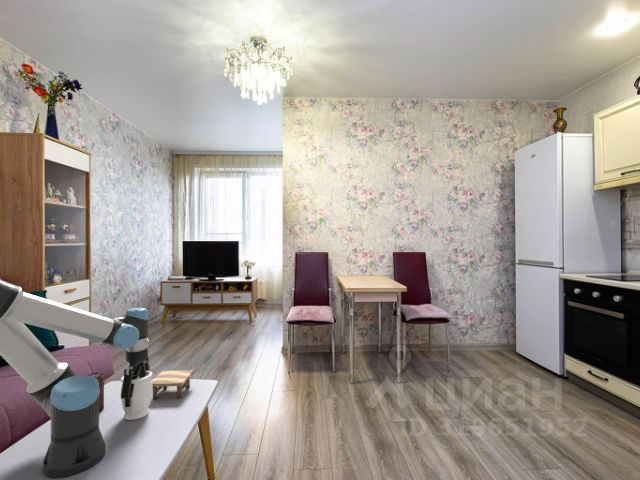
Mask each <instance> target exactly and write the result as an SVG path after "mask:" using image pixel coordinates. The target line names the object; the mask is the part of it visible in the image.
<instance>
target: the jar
mask: <svg viewBox="0 0 640 480" xmlns="http://www.w3.org/2000/svg"><path fill="white" fill-rule="evenodd" d="M145 371H146V377H144V378H141V379H140V377H139V376H138V378H136V380H132V383H131V384H134V390H133V394H132V396H134V398H133V415H125V414H124V415H123V418H124V420H127V421H134V420H135V421H136V420H139V419H142V418H144V417H146V416H147V415H148V414H149V413H150V409H149V407H150V405H151V401H152V397H153V387H152V380H153V379H152V378H153V371H151V370H150V371H147V370H145ZM123 380H124V375H122V376H121V378H120V382H121V383H122V384H121V388H120V393H121V392H122V386H123ZM120 400H121V406H122V410H123V412H124V413H125V399H121V398H120Z"/></svg>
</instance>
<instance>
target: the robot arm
mask: <svg viewBox="0 0 640 480" xmlns="http://www.w3.org/2000/svg"><path fill="white" fill-rule="evenodd" d="M149 320H150V319H149V310H148V308H145V307H131V308H128V309H126V311H125V314H124V315H122V316H115V317H106V316H103V315H99V314H97V313H94V312H89V311H87V310H83V309H80V308H77V307H74V306H70V305H68V304H65V303H61V302H57V301H55V300H51V299H48V298H44V297H41V296H38V295H34V294H32V293H28V292H26V291H25V292H24V291H23V289H22V287H21V286H19V285H15V284H13V283H9V282H8V281H5V280H3V279H1V278H0V356H1V358H2V359H3V360H5V362H6V363H7V364H9V366H10V367H11V368H12V369H13V370H14V371H15V372H16V373H17V374H18V375H19V377H20V378H22V379H23V380H24V381H25V382H26V383H27V385H26V393H27V394H29V396H30V397H31V398H32V399H33V400H34V401H35V403H37V404H38V406H40V408H42V410H44V411H45V413H46V414H47V415H48V416H49V417H50V443H49V445H48V447H47V450H46V453H45V456H44V458H43V461H42V474H43V475H44V476H45V477H47V478H52V479H53V478H54V479H57V478H59V479H60V478H66V477H69V476H73V475H77V474H79V473H81V472H84V471H86V470H88V469H90V468H92V467H93V466H95V465H96V464H97V463H99V462H100V461H101V460H102V459H103V457H104V456H105V454H106V449H107V447H106V446H107V445H106V441H105V440H104V436H103V435H102V434H103V433H102V432H101V428H100V412H99V394H100V388H99V383H98V380H97V379H96V378H94V377H92V376H88V375H78V373H76V372H75V370H74V369H73V368H72V367H71V366H70V365H69V364H68V363H67V362H65V361H61V362H60V361H58V360H57V359H56V358H55V357H54V356H53V354H51V352H50V351H49V350H48V349H47V348H46V347H45V345H43V343H41V341H40V340H39V339H38V338H37V337H36V335H34V333H33V332H32V331H31V330H30V329H29V327H27V325H30V326H35V327H37V328H42V329H46V330H50V331H55V332H59V333H62V334H66V335H70V336H75V337H78V338H81V339H82V338H83V339H85V340H86V339H87V340H88V341H89V342H90V343H101V344H107V345H110V346H114V347H116V348H118V349H122V350H125V361H126V362H127V363H128V365H129V366H128V368H125V369H124V370H123V376H124V380H123V386H122V385H121V387H122V392H121V391H120V400H121V399H125V412H124V415H133V398H134V396H132V394H133V390H134V384H131V383H132V380H136V378H138V376H139V377H140V379H141V378H144V377H146V371H145V370H147V371H151V370H150V363H149V361H150V360H149V359H150V358H149V348H148V347H149V342H150V340H149ZM25 324H26V325H25Z"/></svg>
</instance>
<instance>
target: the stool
mask: <svg viewBox="0 0 640 480" xmlns="http://www.w3.org/2000/svg"><path fill="white" fill-rule="evenodd" d="M193 374H195V373H194V370H193V369H189V370H187V369H186V370H184V369H182V370H162V371H161V372H160V373H158V375H156V376H155V377H154V378H153V379H151V380H152V387H153V388H152V400H158V393H159V392H160V391H161V390H162V389H163V390H166V389H168V387H176V399H177V400H179V399H182V396H183V395H182V392H183V391H184V390H185V389H190V388H191V383H190V382H191V381H190V380H191V376H192V375H193Z"/></svg>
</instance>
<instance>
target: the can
mask: <svg viewBox="0 0 640 480" xmlns="http://www.w3.org/2000/svg"><path fill="white" fill-rule="evenodd" d="M87 376H92V377H94V378H96V379H97V380H98V383H99V388H100V394H99V413H101V412H102V411H103V410H104V408H105V386H104V385H105V375H104V373H103V372H94V373H90V374H88V375H87Z"/></svg>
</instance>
